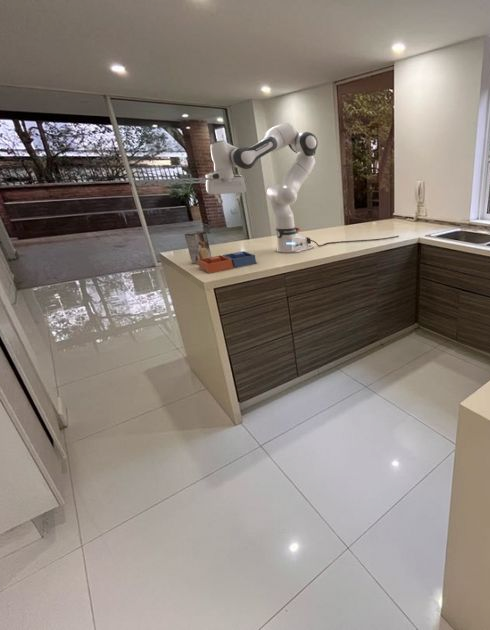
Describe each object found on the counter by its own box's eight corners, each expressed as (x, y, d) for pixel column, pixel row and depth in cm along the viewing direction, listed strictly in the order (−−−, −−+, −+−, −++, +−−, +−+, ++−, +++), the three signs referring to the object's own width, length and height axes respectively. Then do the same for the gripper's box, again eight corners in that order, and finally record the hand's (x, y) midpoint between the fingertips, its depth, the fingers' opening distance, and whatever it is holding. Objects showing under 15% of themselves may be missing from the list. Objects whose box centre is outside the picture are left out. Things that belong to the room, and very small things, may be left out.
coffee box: (202, 259, 195) (196, 230, 188) (212, 259, 193) (206, 231, 187) (191, 263, 186) (184, 234, 180) (201, 264, 185) (194, 234, 179)
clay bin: (222, 263, 186) (220, 255, 184) (233, 268, 178) (231, 259, 176) (199, 268, 178) (197, 259, 176) (209, 273, 170) (207, 264, 168)
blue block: (242, 260, 190) (240, 251, 188) (246, 262, 187) (244, 253, 185) (233, 262, 186) (231, 253, 184) (237, 263, 183) (235, 254, 181)
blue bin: (245, 259, 195) (243, 251, 193) (256, 263, 187) (255, 255, 185) (224, 263, 187) (222, 255, 185) (234, 267, 179) (233, 259, 177)
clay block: (218, 265, 181) (216, 256, 179) (222, 266, 178) (220, 257, 176) (209, 267, 178) (207, 257, 176) (213, 268, 175) (211, 259, 173)
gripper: (240, 174, 187) (245, 200, 193) (202, 175, 174) (208, 203, 179) (246, 174, 183) (250, 201, 189) (207, 175, 170) (213, 204, 175)
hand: (229, 202), depth 184 cm, fingers open, 8 cm apart
